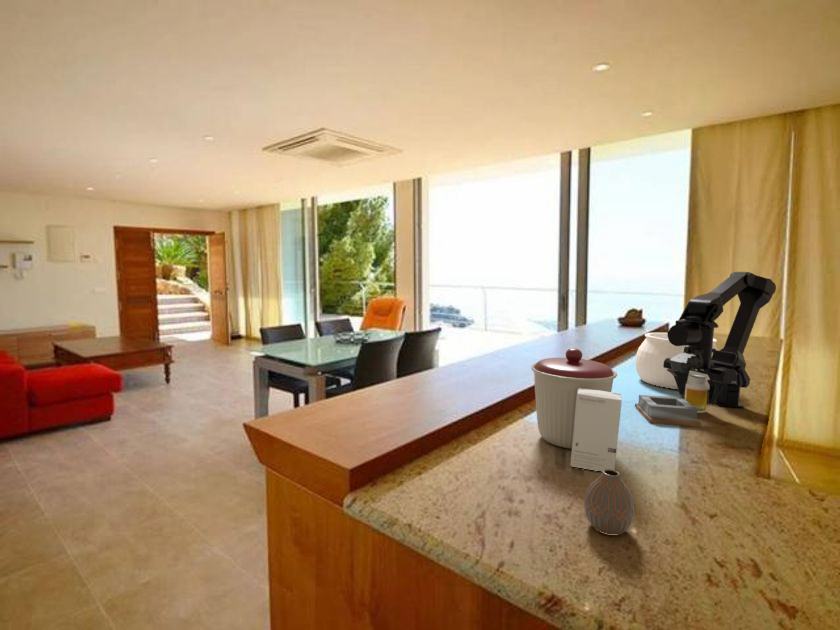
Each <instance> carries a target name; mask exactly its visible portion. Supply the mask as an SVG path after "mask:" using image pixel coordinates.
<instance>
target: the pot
mask: <svg viewBox="0 0 840 630" xmlns="http://www.w3.org/2000/svg"><path fill="white" fill-rule="evenodd" d="M644 337H645V339H644V340H643V341H642V342H641V344H640V346H639V347H638V349H637V352H636V354H635V362H634V363H635V369H636V372H637V375H638V377H639V378H640V380H641V381H643V382H645V383H647V384H649V385H652V386H655V385H656V387H659V386H660V388H663V387H665V388H664V389H668V388H671V389H670V390H675V389H678V387H677V384H676V381H675V378H674V376H673V375H672V374H671V373H670V372H669V371H667V369H668V368H664V367H663V364H664V361H665V359H666V358H673V357H675V356H677V355H679V354H682V353H683V352H684V348H685V347H688V345H686V346H675V345H673V344H671V343H670V341H669V340H668V332H647V333H645V334H644ZM717 342H718V340H717V339H716V338H714V337H713V346H712V348H714V349H716V350H718V351H720V349H718V347H717V345H716V343H717ZM712 355H713V353H712ZM689 375H700V376H704V377H706V381H705V383H704V384H705V385H707V387H708V391H709V388H710V385H709V383H708V382H707V380H710V378H709V377H708V375H707V374H703V373H699V372H695V371H691V370H690V371H689ZM689 375H688V380H687V383H688V382H690V381H689Z"/></svg>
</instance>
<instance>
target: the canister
mask: <svg viewBox="0 0 840 630" xmlns="http://www.w3.org/2000/svg"><path fill="white" fill-rule="evenodd" d="M530 367H531V370H532V372H533V376H534V377H533V379H534V394H535V395H534V396H535V409H536V410H535V411H536V420H537V429H538V432H539V434H540V437H541V438H542V439H543V440H544V441H546V442H547V443H550V444H551V445H554V446H557V447H561V448H565V449H571V450H572V442H573V432H574V422H575V409H576V400H577V392H578V388H584V389H592V390H601V391H606V392H612V390H613V383H614V379H616V378H617V376H618V373H617V371H615V370H614V369H612V368H611V366H609V365H607V364H604V363H602V362H598V361H596V360H591V359H585V358H584V359H583V352H582V351H581V350H580V349H578V348H569V349H567V350H566V351H565V357H550V358H544V359H541V360H538V361H537V362H535V363H533V364H532V365H531V366H530Z"/></svg>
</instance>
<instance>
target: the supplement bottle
mask: <svg viewBox="0 0 840 630" xmlns="http://www.w3.org/2000/svg"><path fill="white" fill-rule="evenodd" d="M689 381H690V382H688V383H687V384H686V386H685V392H684V398H683V399H684V400H686V401H687V402H688V403H690V404H691V405H692V406H694V407H695V408H696V409H698V411H697V414H702V413H703V414H704V413H706V410H707V401H708V394H709V392H708V391H709V390H708V387H707V385H705V384H704V383H705V381H706V377H704V376H700V375H689Z"/></svg>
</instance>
